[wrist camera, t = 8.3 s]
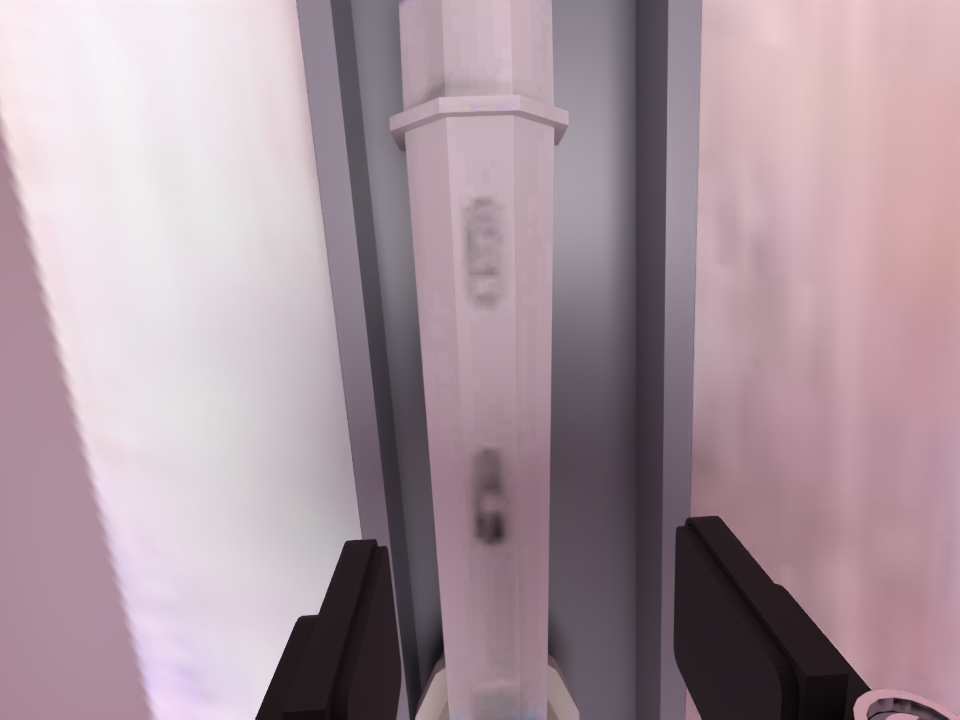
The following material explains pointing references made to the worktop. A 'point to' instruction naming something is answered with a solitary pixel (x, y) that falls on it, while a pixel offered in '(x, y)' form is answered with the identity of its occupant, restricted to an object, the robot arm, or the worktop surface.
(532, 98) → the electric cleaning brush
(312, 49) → the tray
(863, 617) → the worktop surface
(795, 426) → the worktop surface
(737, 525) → the worktop surface
